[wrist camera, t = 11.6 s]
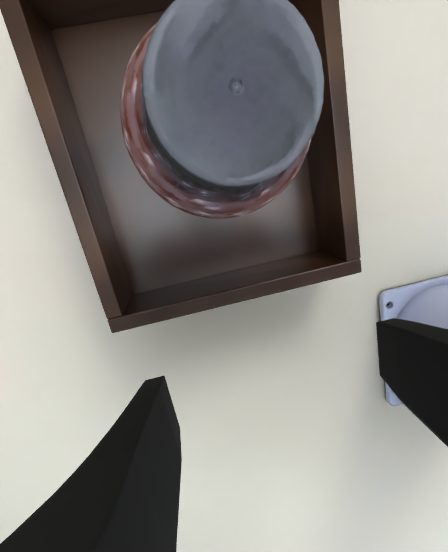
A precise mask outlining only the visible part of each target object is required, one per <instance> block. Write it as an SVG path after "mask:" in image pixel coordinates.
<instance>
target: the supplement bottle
mask: <svg viewBox="0 0 448 552" xmlns="http://www.w3.org/2000/svg"><path fill="white" fill-rule="evenodd" d="M323 93H324V74H323V68H322V59H321V55H320V52H319V49H318V47H317V44H316V41H315V38H314V36H313V33H312V31H311V30H310V28H309V26H308V24H307V23H306V21H305V19H304V17H303V16H302V15H301V14H300V13H299V11H298V10H297V9H296V7H295V6H294V5H293V4H291V3H290V2H289V1H288V0H175V1H174V2H173V3H172V4H171V5H170V6H169V7H168V8H167V9H166V10H165V12H164V13H163V15H162V16H161V18H160V19H159V21H158V22H157V23H156V24H155V25H154V26H153V27H152V28H151V29H150V30H149V31H148V32H147V33H146V34H145V35H144V37H143V38H142V40H141V41H140V42H139V44H138V45H137V47H136V48H135V50H134V51H133V53H132V56H131V58H130V60H129V62H128V65H127V68H126V71H125V74H124V78H123V82H122V87H121V95H120V119H121V126H122V133H123V137H124V142H125V145H126V148H127V150H128V152H129V155H130V157H131V159H132V161H133V163H134V165H135V167H136V168H137V170H138V172H139V174H140V175H141V177H142V178H143V179H144V181H145V182H146V183H147V184H148V185H149V187H150V188H151V189H152V190H153V191H154V192H155V193H156V194H158V195H159V196H160V197H161V198H162V199H164V200H165V201H166V202H168V203H169V204H170V205H172V206H174V207H176V208H178V209H180V210H182V211H184V212H186V213H189V214H192V215H195V216H198V217H205V218H209V219H225V218H234V217H239V216H241V215H245V214H248V213H251V212H254V211H256V210H258V209H260V208H262V207H264V206H265V205H266V204H268V203H269V202H271V201H272V200H274V199H275V198H276V197H277V196H278V195H279V194H280V193H282V192H283V191H284V190H285V188H286V187H287V186H288V185H289V184H290V182H291V181H292V180H293V179H294V177H295V176H296V174H297V172H298V171H299V169H300V167H301V165H302V163H303V161H304V158H305V156H306V154H307V152H308V150H309V146H310V142H311V138H312V136H313V135H314V133H315V129H316V125H317V123H318V121H319V118H320V114H321V110H322V105H323Z"/></svg>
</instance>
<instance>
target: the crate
mask: <svg viewBox="0 0 448 552" xmlns="http://www.w3.org/2000/svg"><path fill="white" fill-rule="evenodd" d="M174 1H175V0H0V9H1V12H2V15H3V18H4V21H5V24H6V27H7V30H8V33H9V35H10V38H11V41H12V44H13V47H14V50H15V53H16V56H17V59H18V62H19V65H20V67H21V70H22V73H23V76H24V79H25V82H26V85H27V88H28V91H29V94H30V96H31V99H32V102H33V105H34V108H35V111H36V114H37V117H38V120H39V123H40V126H41V128H42V131H43V134H44V137H45V140H46V143H47V146H48V149H49V152H50V155H51V157H52V160H53V163H54V166H55V169H56V172H57V175H58V178H59V181H60V184H61V187H62V189H63V192H64V195H65V198H66V201H67V204H68V207H69V210H70V213H71V216H72V218H73V221H74V224H75V227H76V230H77V233H78V236H79V239H80V242H81V245H82V248H83V250H84V253H85V256H86V259H87V262H88V265H89V268H90V271H91V274H92V277H93V279H94V282H95V285H96V288H97V291H98V294H99V297H100V300H101V303H102V306H103V309H104V311H105V314H106V317H107V319H108V323H109V326H110V329H111V332H112V333H115V332H119V331H123V330H127V329H131V328H135V327H139V326H143V325H148V324H152V323H156V322H160V321H164V320H168V319H172V318H176V317H180V316H184V315H188V314H192V313H197V312H201V311H205V310H209V309H213V308H217V307H221V306H225V305H229V304H233V303H237V302H241V301H246V300H250V299H254V298H258V297H262V296H266V295H270V294H274V293H278V292H282V291H286V290H290V289H295V288H299V287H303V286H307V285H311V284H315V283H319V282H323V281H327V280H331V279H335V278H340V277H344V276H348V275H352V274H356V273H360V272H361V261H360V259H359V258H360V246H359V235H358V223H357V211H356V199H355V187H354V176H353V164H352V152H351V140H350V129H349V117H348V105H347V93H346V82H345V70H344V58H343V46H342V35H341V23H340V11H339V0H288V1H289V2H290V3H291V4H293V5H294V6H295V7H296V9H297V10H298V11H299V13H300V14H301V15H302V16H303V17H304V19H305V21H306V23H307V24H308V26H309V28H310V30H311V31H312V33H313V36H314V38H315V41H316V44H317V47H318V49H319V52H320V55H321V59H322V68H323V74H324V93H323V105H322V110H321V114H320V118H319V121H318V123H317V125H316V129H315V133H314V135H313V136H312V138H311V142H310V146H309V150H308V152H307V154H306V156H305V158H304V161H303V163H302V165H301V167H300V169H299V171H298V172H297V174H296V176H295V177H294V179H293V180H292V181H291V182H290V184H289V185H288V186H287V187H286V188H285V190H284V191H283V192H282V193H280V194H279V195H278V196H277V197H276V198H275V199H274V200H272V201H271V202H269V203H268V204H266V205H265V206H264V207H262V208H260V209H258V210H256V211H254V212H251V213H248V214H245V215H241V216H239V217H234V218H225V219H209V218H205V217H198V216H195V215H192V214H189V213H186V212H184V211H182V210H180V209H178V208H176V207H174V206H172V205H170V204H169V203H168V202H166V201H165V200H164V199H162V198H161V197H160V196H159V195H158V194H156V193H155V192H154V191H153V190H152V189H151V188H150V187H149V185H148V184H147V183H146V182H145V181H144V179H143V178H142V177H141V175H140V174H139V172H138V170H137V168H136V167H135V165H134V163H133V161H132V159H131V157H130V155H129V152H128V150H127V148H126V145H125V142H124V137H123V133H122V126H121V119H120V95H121V87H122V82H123V78H124V74H125V71H126V68H127V65H128V62H129V60H130V58H131V56H132V53H133V51H134V50H135V48H136V47H137V45H138V44H139V42H140V41H141V40H142V38H143V37H144V35H145V34H146V33H147V32H148V31H149V30H150V29H151V28H152V27H153V26H154V25H155V24H156V23H157V22H158V21H159V19H160V18H161V16H162V15H163V13H164V12H165V10H166V9H167V8H168V7H169V6H170V5H171V4H172V3H173V2H174Z"/></svg>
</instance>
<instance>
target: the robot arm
mask: <svg viewBox="0 0 448 552" xmlns="http://www.w3.org/2000/svg"><path fill="white" fill-rule="evenodd" d="M379 301H380V316H381V321H380V322H376V326H377V340H378V355H379V369H380V376H381V377H382V378H383V379H384V381H385V387H386V400H387V402H388V403H389V404H390V405H391V406H396V405H400V404H404V405H405V406H406V407H407V408H408V409H409V410H410V411H411V412H412V413H413V414H414V415H415V416H416V417H417V418H418V419H419V420H420V421H421V422H422V423H423V424H425V425H426V426H427V427H428V428H429V429H430V430H431V431H432V432H433V433H434V434H435V435H436V436H437V437H438V438H439V439H440V440H441V441H442V442H443V443H445V444H446V445H447V446H448V275H446V276H442V277H438V278H434V279H430V280H426V281H422V282H418V283H414V284H410V285H406V286H402V287H398V288H394V289H390V290H386V291H384V292H382V293H381V295H380V297H379ZM388 302H390V303H389V305H388V306H387V307H386V304H387V303H388ZM180 478H181V440H180V427H179V423H178V420H177V417H176V413H175V410H174V407H173V403H172V400H171V396H170V393H169V390H168V386H167V383H166V380H165V376H161V377H157V378H153V379H149V380H145V382H144V383H143V384H142V386H141V387H140V389H139V390H138V391H137V393H136V394H135V396H134V397H133V399H132V400H131V401H130V403H129V404H128V406H127V407H126V408H125V410H124V411H123V413H122V414H121V415H120V417H119V418H118V419H117V421H116V422H115V424H114V425H113V426H112V428H111V429H110V430H109V431H108V432H107V434H106V435H105V436H104V437H103V439H102V440H101V441H100V442H99V444H98V445H97V446H96V447H95V449H94V450H93V451H92V452H91V454H90V455H89V456H88V457H87V458H86V460H85V461H84V462H83V463H82V464H81V465H80V466H79V467H78V469H77V470H76V471H75V472H74V473H73V474H72V475H71V476H70V477H69V478H68V479H67V480H66V481H65V482H64V484H63V485H62V486H61V487H60V488H59V489H58V490H57V491H56V492H55V493H54V494H53V495H52V496H51V497H50V498H49V499H48V500H47V501H46V502H45V503H44V504H43V505H42V506H41V507H39V508H38V509H37V510H36V511H35V512H34V513H33V514H32V515H31V516H30V517H29V518H28V519H27V520H26V521H25V522H24V523H23V524H22V525H20V526H19V527H18V528H17V529H16V530H15V531H14V532H13V533H12V534H11V535H10V536H9V537H8V538H6V539H5V540H4V541H3V542H2V543H1V544H0V552H176V542H177V526H178V510H179V494H180Z"/></svg>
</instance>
